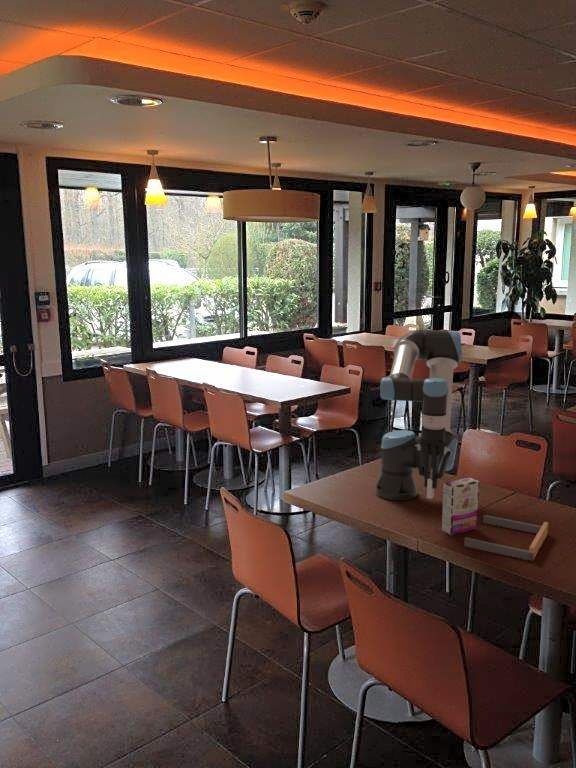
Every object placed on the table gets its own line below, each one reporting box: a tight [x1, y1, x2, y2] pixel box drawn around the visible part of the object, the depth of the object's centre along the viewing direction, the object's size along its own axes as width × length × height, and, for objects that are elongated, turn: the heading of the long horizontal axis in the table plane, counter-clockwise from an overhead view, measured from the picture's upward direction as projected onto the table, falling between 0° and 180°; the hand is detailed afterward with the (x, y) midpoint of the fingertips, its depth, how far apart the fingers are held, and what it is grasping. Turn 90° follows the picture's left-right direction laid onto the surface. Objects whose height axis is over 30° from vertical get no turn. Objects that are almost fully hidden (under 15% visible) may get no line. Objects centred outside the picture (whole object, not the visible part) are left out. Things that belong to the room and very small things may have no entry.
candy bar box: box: [441, 476, 480, 536], centre depth 217 cm, size 11×5×16 cm, turn 117°
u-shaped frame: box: [463, 514, 549, 562], centre depth 211 cm, size 20×22×4 cm
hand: (430, 497), depth 222 cm, fingers closed
